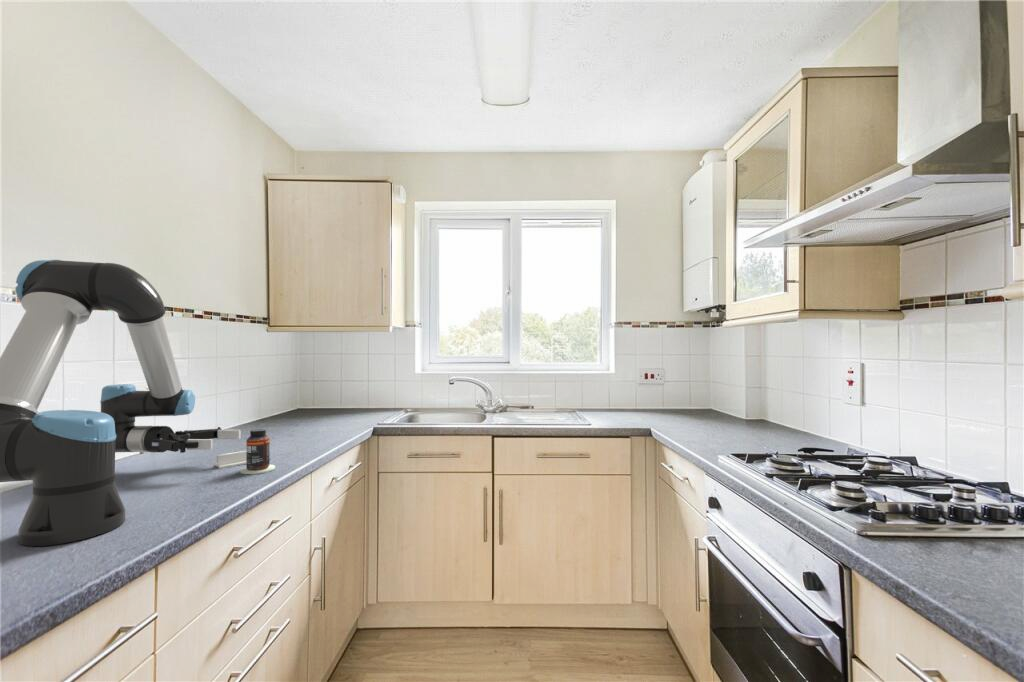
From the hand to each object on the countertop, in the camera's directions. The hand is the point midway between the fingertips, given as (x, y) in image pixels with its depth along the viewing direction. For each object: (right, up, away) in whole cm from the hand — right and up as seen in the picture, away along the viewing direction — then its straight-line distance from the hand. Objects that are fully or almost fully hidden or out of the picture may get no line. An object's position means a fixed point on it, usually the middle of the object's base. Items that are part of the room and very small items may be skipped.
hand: (226, 439), depth 131 cm
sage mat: (+9, -9, 0) cm, 13 cm away
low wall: (0, -9, +8) cm, 12 cm away
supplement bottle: (+9, -9, 0) cm, 13 cm away
